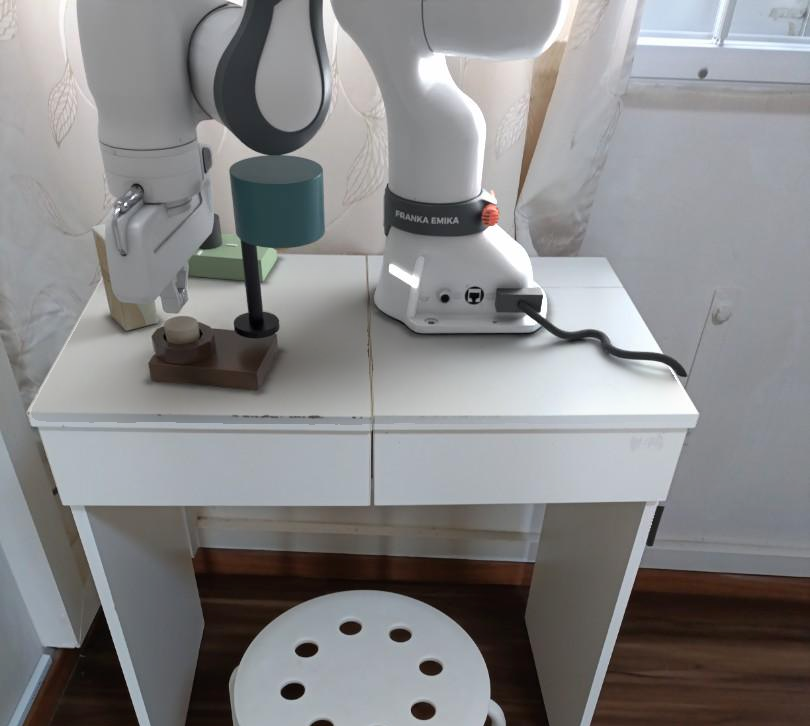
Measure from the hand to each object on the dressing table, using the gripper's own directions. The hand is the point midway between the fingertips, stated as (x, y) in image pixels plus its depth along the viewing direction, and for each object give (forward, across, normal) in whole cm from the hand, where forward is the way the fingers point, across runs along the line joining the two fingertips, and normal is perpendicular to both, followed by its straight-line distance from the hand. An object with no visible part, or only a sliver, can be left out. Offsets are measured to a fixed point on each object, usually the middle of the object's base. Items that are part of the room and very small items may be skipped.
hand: (176, 307), depth 85 cm
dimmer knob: (+4, +28, +6) cm, 29 cm away
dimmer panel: (+7, +28, +3) cm, 29 cm away
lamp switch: (+4, 0, 0) cm, 4 cm away
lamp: (+3, +3, -10) cm, 11 cm away
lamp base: (+7, +1, -3) cm, 8 cm away
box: (+7, +10, +10) cm, 16 cm away
